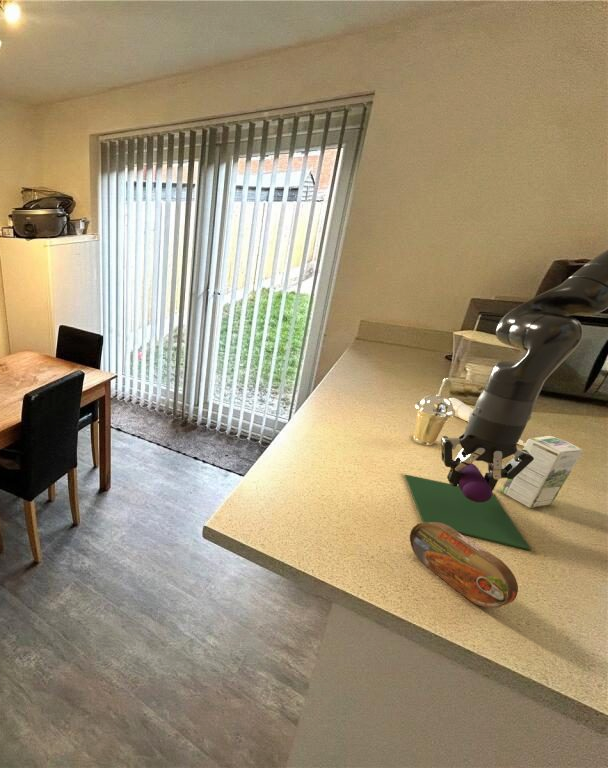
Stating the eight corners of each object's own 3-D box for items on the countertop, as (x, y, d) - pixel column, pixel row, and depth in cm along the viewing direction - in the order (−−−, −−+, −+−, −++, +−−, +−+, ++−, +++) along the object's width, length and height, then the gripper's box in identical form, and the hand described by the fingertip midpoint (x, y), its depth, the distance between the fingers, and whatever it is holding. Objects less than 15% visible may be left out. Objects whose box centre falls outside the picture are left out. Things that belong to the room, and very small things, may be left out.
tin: (403, 548, 74) (416, 513, 71) (416, 545, 75) (430, 510, 71) (493, 621, 60) (515, 582, 57) (509, 616, 61) (531, 577, 58)
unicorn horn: (517, 450, 103) (524, 435, 101) (438, 410, 125) (443, 397, 123) (533, 449, 104) (541, 434, 102) (452, 410, 125) (457, 396, 124)
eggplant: (468, 473, 87) (476, 456, 85) (491, 509, 76) (500, 491, 74) (443, 468, 89) (450, 451, 87) (462, 503, 78) (470, 485, 76)
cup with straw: (420, 431, 113) (443, 367, 105) (453, 447, 105) (480, 379, 97) (396, 435, 111) (418, 370, 104) (428, 452, 103) (454, 383, 95)
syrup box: (520, 488, 89) (548, 433, 83) (552, 506, 84) (584, 448, 78) (500, 492, 88) (527, 436, 83) (531, 509, 83) (562, 451, 77)
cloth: (491, 494, 88) (492, 492, 88) (529, 550, 73) (530, 549, 73) (404, 475, 94) (405, 474, 94) (423, 524, 79) (424, 523, 79)
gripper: (541, 414, 75) (505, 486, 82) (447, 400, 81) (421, 469, 88) (562, 431, 69) (521, 508, 76) (458, 415, 75) (429, 488, 81)
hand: (467, 487), depth 82 cm, fingers closed on eggplant, 4 cm apart
